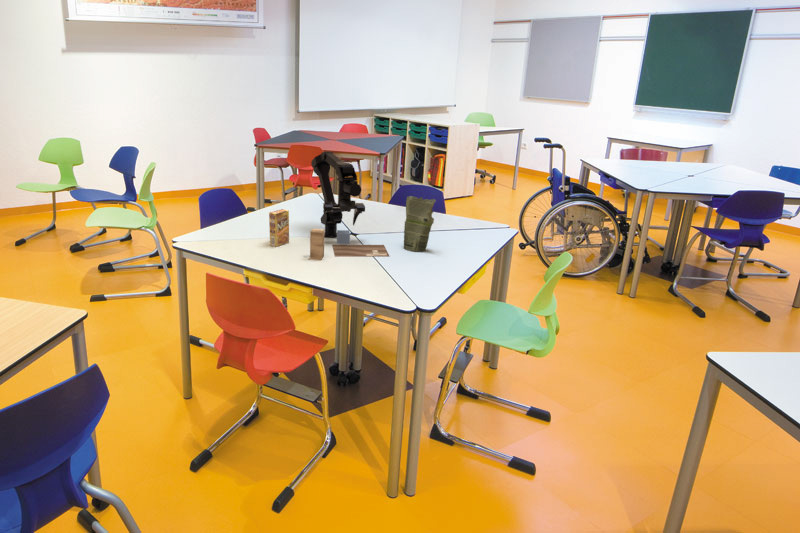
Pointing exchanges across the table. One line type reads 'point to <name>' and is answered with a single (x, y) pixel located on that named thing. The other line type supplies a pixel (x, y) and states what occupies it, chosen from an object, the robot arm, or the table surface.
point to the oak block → (317, 244)
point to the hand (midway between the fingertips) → (343, 225)
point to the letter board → (360, 251)
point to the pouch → (418, 223)
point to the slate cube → (343, 237)
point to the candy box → (279, 227)
